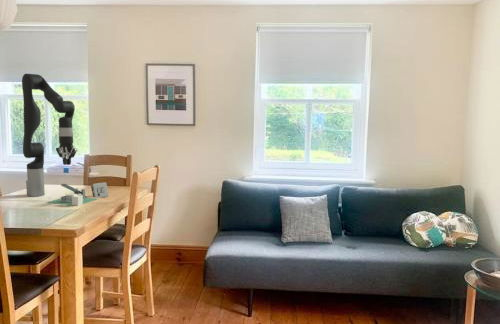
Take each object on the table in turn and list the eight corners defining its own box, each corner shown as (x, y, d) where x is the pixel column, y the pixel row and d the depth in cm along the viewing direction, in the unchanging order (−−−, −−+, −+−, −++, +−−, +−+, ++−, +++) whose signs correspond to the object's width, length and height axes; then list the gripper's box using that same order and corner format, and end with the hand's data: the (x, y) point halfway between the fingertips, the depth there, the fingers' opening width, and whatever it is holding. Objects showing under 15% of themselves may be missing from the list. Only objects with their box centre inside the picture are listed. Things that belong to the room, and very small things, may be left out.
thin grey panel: (77, 193, 242) (78, 192, 242) (82, 194, 241) (82, 192, 241) (60, 185, 227) (61, 183, 227) (65, 185, 226) (66, 183, 227)
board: (44, 204, 229) (44, 192, 228) (67, 198, 247) (67, 187, 246) (78, 207, 223) (77, 195, 222) (99, 200, 242) (98, 189, 241)
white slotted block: (60, 201, 231) (59, 196, 231) (70, 198, 240) (70, 193, 240) (73, 203, 229) (73, 197, 229) (83, 199, 238) (83, 194, 237)
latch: (65, 204, 225) (65, 194, 224) (70, 203, 229) (70, 193, 228) (78, 205, 223) (77, 195, 222) (82, 204, 227) (82, 194, 226)
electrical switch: (95, 199, 247) (94, 184, 246) (90, 198, 250) (89, 183, 249) (108, 196, 254) (107, 182, 253) (104, 196, 257) (103, 182, 257)
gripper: (51, 135, 232) (52, 164, 234) (71, 136, 229) (72, 166, 231) (60, 134, 239) (61, 163, 241) (80, 135, 236) (81, 164, 238)
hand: (67, 164), depth 236 cm, fingers closed
